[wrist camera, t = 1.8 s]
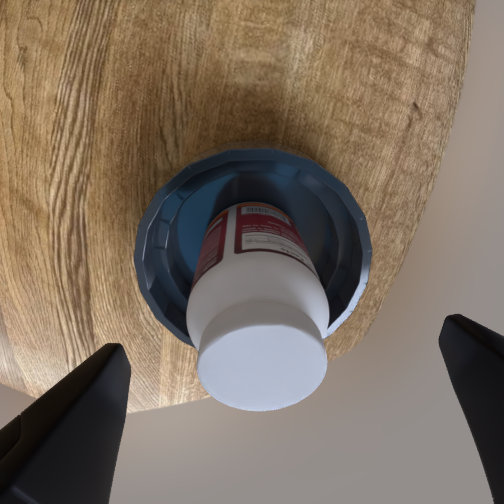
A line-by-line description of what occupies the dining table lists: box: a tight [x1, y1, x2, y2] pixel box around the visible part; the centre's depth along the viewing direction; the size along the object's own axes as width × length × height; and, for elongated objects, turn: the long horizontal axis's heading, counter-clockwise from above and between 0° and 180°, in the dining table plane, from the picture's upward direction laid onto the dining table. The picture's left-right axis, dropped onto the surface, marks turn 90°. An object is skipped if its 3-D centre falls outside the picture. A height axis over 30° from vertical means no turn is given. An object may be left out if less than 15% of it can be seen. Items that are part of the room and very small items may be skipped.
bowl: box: [134, 141, 372, 348], centre depth 19 cm, size 13×13×4 cm
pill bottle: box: [186, 202, 329, 411], centre depth 16 cm, size 6×6×11 cm
